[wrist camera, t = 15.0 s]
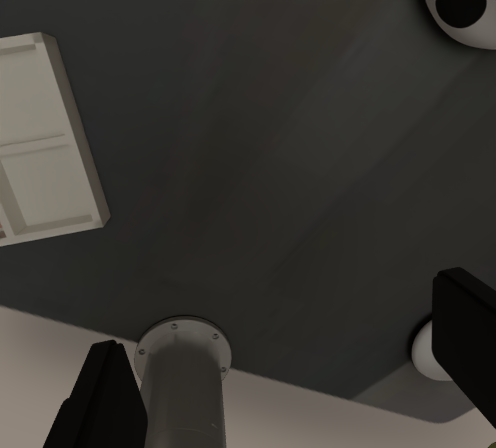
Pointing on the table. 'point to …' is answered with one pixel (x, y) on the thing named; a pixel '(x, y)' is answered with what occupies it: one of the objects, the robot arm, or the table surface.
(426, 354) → the flower in vase
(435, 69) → the table surface
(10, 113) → the divided tray
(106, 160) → the table surface
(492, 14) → the milk container
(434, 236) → the table surface
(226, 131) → the table surface
